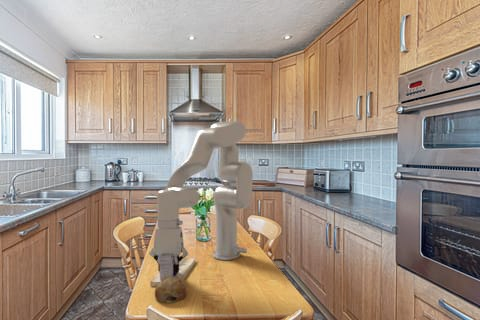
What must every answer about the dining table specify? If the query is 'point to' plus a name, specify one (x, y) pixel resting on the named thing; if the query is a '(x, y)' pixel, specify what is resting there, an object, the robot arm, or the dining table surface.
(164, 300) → the bread roll
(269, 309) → the dining table surface
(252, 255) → the dining table surface
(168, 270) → the medicine box
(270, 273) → the dining table surface
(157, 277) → the board
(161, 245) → the robot arm
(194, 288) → the dining table surface
